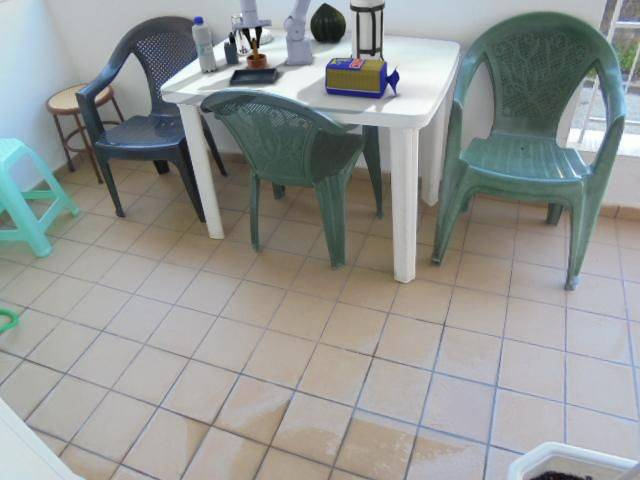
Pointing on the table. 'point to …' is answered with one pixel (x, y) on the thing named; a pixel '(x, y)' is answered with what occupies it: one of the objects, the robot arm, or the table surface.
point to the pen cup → (257, 62)
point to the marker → (255, 49)
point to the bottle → (204, 45)
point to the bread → (359, 77)
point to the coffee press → (367, 29)
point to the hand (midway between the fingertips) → (255, 48)
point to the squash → (327, 24)
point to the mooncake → (262, 35)
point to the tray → (253, 76)
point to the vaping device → (231, 50)
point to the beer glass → (240, 35)
